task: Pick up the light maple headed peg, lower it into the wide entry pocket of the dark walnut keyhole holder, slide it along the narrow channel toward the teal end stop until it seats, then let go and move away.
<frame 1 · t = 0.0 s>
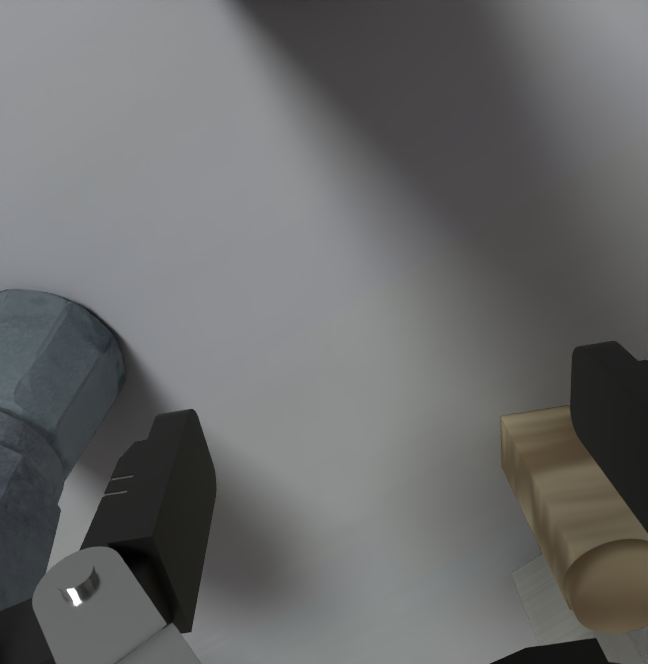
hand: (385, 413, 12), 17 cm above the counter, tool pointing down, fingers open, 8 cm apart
maple peg: (533, 437, 35), on the counter
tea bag: (556, 579, 42), on the counter
moka pot: (36, 355, 31), on the counter
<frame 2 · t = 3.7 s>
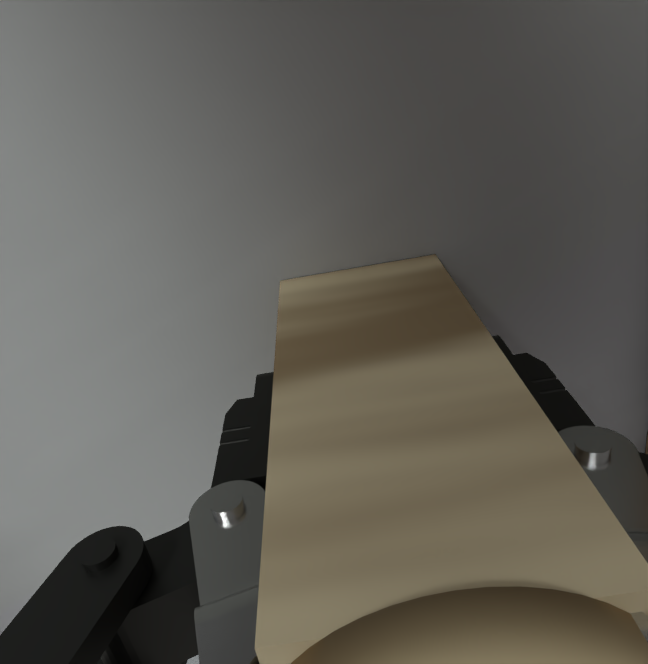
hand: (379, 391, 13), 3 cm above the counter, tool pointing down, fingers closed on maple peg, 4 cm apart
maple peg: (367, 336, 15), on the counter, touching gripper
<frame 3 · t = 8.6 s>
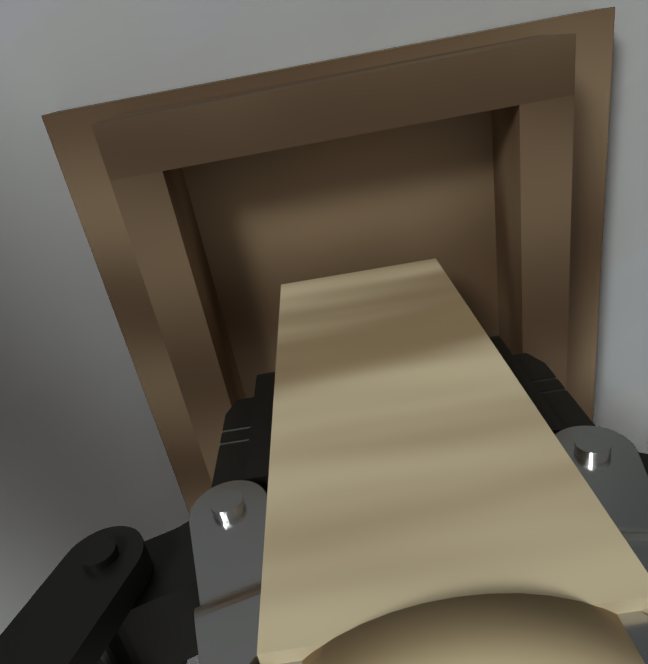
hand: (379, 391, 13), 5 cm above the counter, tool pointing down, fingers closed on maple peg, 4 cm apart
maple peg: (367, 340, 15), point 2 cm above the counter, touching gripper
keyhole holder: (381, 446, 20), on the counter
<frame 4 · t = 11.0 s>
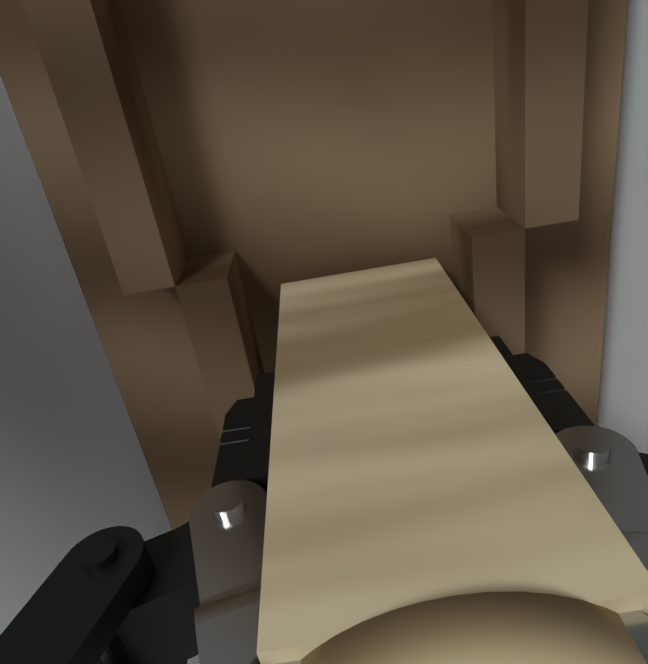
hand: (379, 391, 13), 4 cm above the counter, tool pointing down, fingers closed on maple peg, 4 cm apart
maple peg: (367, 339, 15), point 2 cm above the counter, touching gripper
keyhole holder: (344, 256, 16), on the counter
when the fingers open (4 cm above the counter, at t = 13.3 s): maple peg stays where it is, resting on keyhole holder.
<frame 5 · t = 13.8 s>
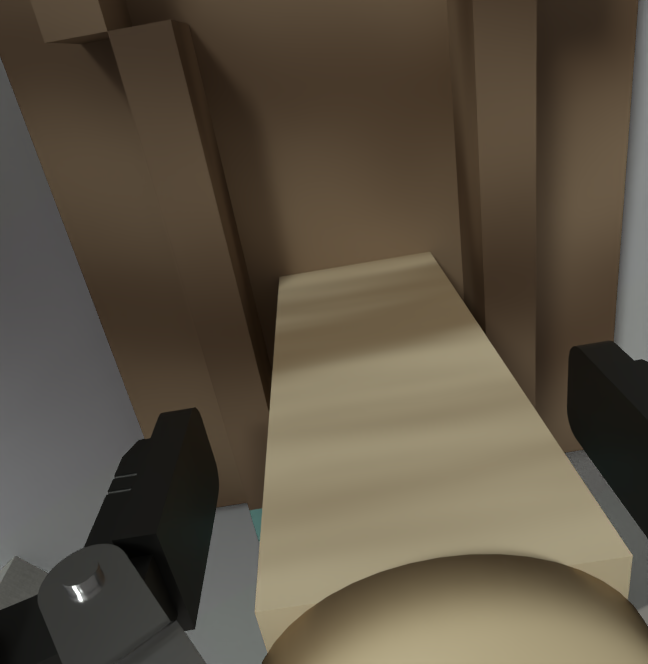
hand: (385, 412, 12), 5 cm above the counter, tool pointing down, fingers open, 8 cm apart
maple peg: (364, 331, 16), point 1 cm above the counter, touching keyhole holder
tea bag: (68, 618, 22), on the counter
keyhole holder: (321, 51, 14), on the counter
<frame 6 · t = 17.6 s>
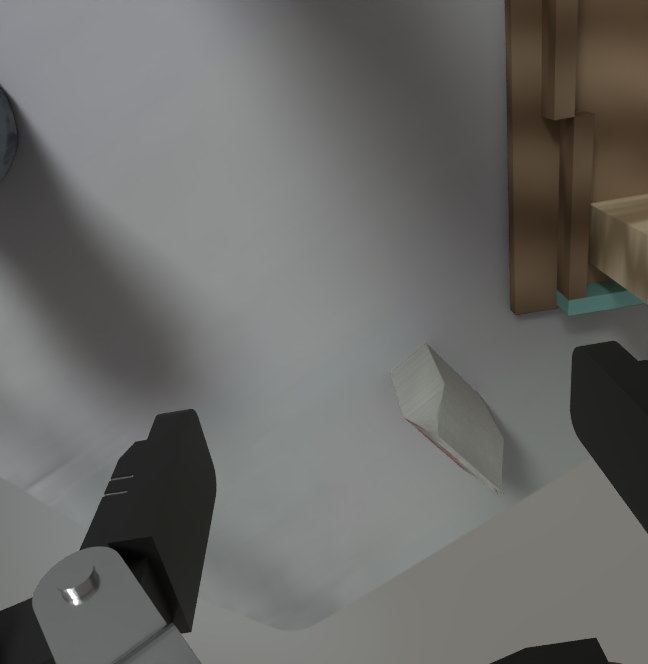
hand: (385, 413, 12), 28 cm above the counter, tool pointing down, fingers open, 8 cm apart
maple peg: (616, 227, 39), point 1 cm above the counter, touching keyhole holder
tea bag: (435, 383, 45), on the counter
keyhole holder: (615, 117, 37), on the counter
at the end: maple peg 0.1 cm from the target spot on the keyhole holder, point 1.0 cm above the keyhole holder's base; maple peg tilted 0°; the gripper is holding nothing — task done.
